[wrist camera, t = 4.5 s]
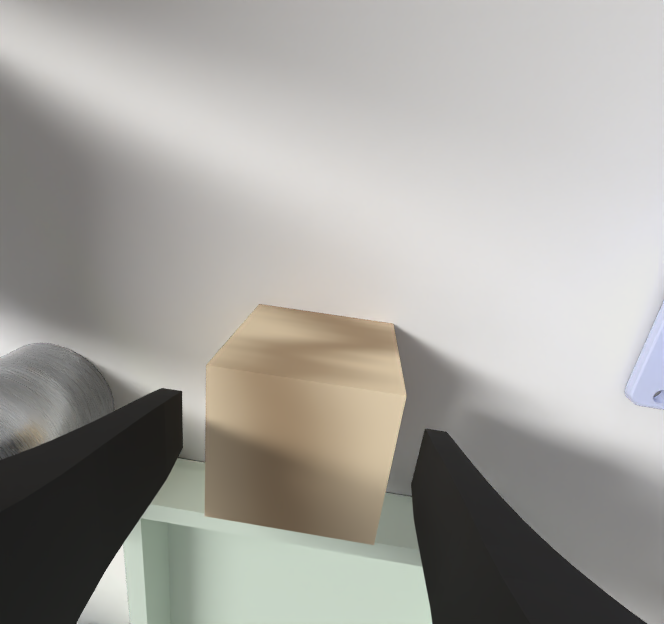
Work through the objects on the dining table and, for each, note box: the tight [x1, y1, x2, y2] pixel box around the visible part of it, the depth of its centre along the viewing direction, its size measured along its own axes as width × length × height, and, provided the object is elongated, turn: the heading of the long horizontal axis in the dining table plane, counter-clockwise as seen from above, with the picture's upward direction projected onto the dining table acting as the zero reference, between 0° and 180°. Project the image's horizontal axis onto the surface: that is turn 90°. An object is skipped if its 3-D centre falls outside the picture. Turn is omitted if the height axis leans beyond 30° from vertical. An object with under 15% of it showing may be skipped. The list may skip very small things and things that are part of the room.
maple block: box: [205, 304, 407, 545], centre depth 12 cm, size 5×5×5 cm
